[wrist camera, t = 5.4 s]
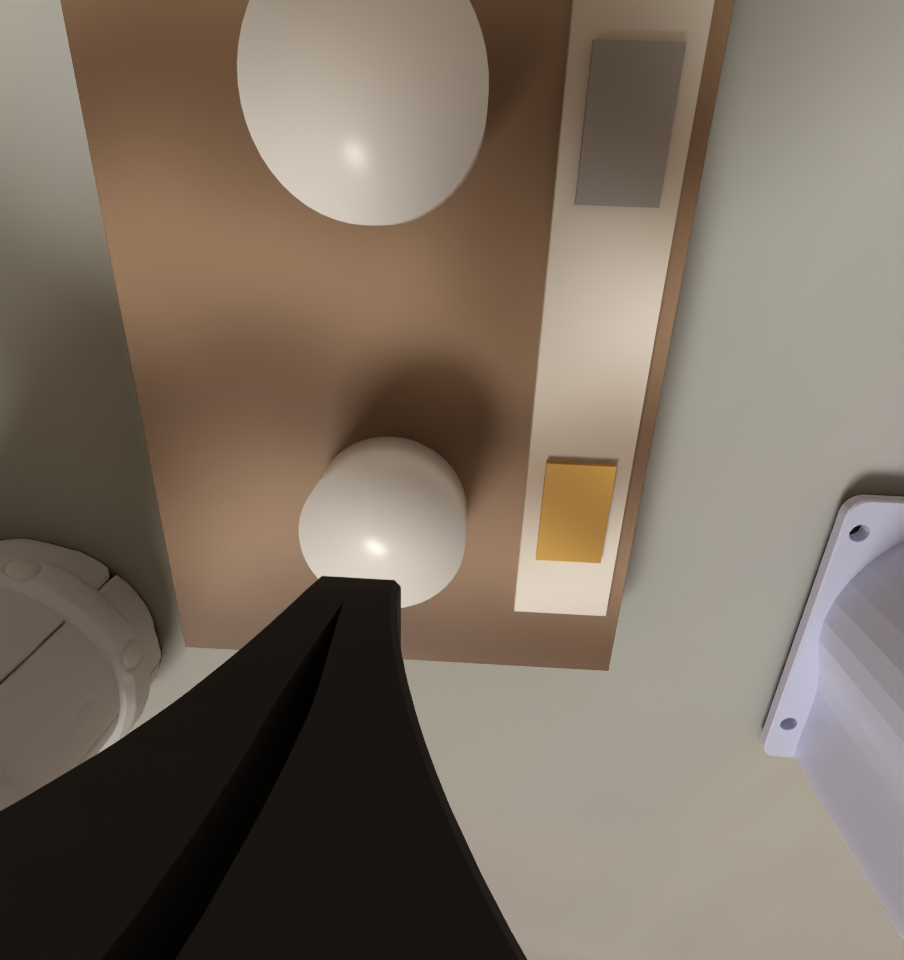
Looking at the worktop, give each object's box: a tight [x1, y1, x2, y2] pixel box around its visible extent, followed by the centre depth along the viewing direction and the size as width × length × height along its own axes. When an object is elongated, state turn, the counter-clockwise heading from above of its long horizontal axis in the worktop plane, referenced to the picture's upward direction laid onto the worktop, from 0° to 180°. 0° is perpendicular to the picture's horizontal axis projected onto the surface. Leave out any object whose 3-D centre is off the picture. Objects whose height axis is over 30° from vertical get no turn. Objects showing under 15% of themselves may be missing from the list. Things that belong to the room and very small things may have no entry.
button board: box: [61, 0, 734, 671], centre depth 12 cm, size 26×12×2 cm, turn 178°
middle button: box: [237, 0, 489, 226], centre depth 9 cm, size 4×4×2 cm
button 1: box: [299, 436, 466, 608], centre depth 13 cm, size 4×4×2 cm
